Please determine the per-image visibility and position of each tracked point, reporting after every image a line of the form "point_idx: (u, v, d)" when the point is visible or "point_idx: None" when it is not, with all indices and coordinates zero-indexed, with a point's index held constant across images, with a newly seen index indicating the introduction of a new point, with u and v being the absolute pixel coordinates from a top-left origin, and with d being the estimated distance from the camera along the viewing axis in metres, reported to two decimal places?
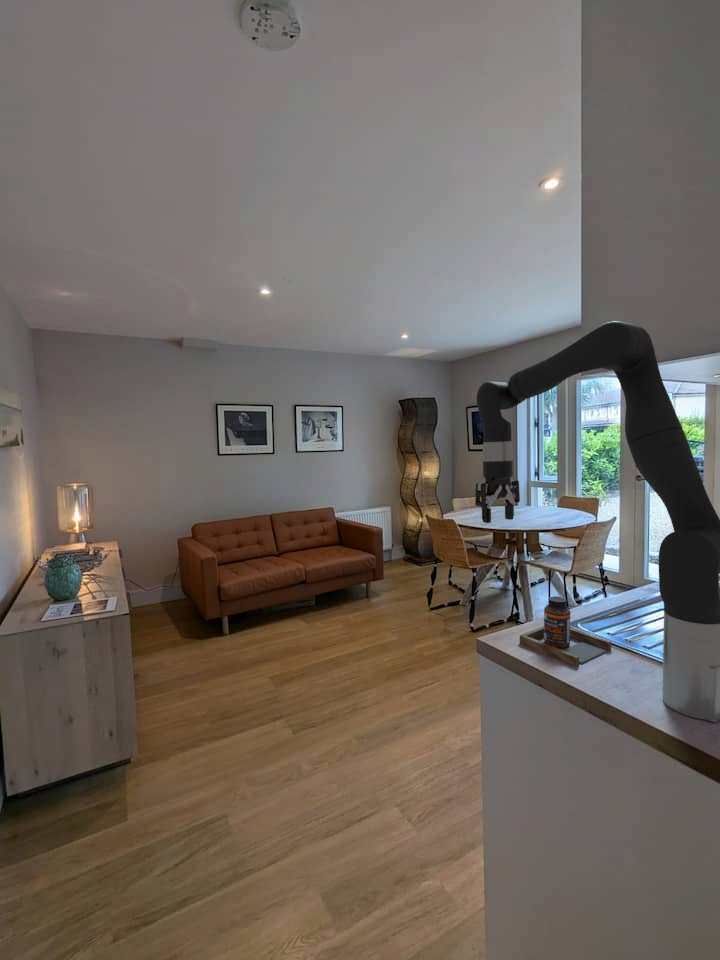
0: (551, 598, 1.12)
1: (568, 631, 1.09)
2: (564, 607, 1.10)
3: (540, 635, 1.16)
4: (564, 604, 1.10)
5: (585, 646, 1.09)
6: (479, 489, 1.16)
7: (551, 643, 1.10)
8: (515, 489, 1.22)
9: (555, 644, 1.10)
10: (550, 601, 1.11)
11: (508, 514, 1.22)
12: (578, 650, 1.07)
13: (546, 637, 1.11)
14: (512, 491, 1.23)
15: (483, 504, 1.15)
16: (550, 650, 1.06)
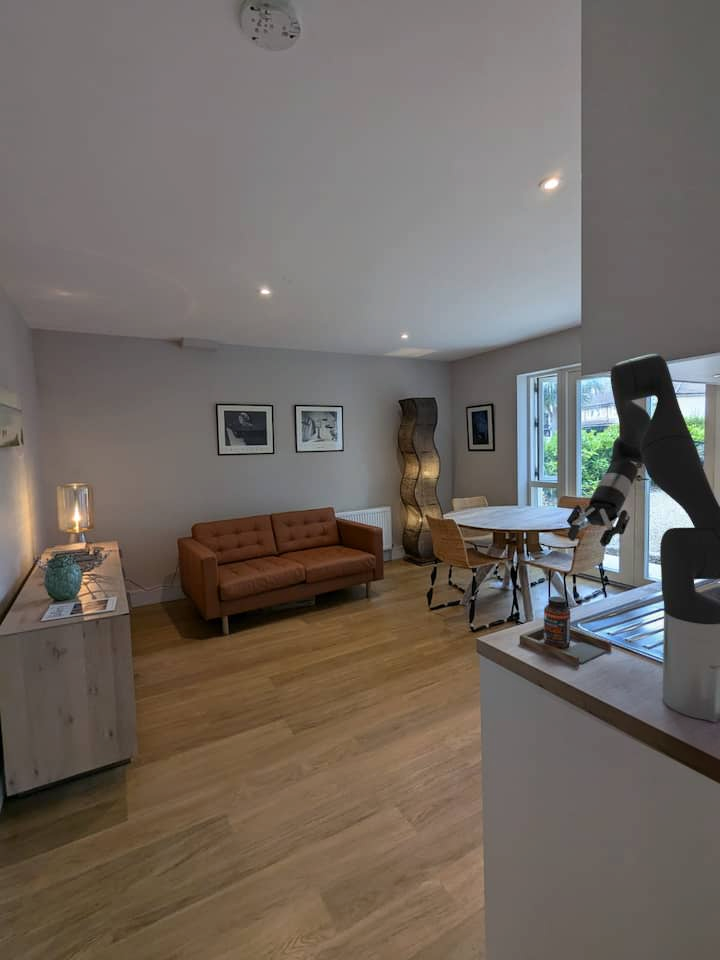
0: (551, 598, 1.12)
1: (568, 631, 1.09)
2: (564, 607, 1.10)
3: (540, 635, 1.16)
4: (564, 604, 1.10)
5: (585, 646, 1.09)
6: None
7: (551, 643, 1.10)
8: None
9: (555, 644, 1.10)
10: (550, 601, 1.11)
11: None
12: (578, 650, 1.07)
13: (546, 637, 1.11)
14: None
15: (568, 520, 1.24)
16: (550, 650, 1.06)
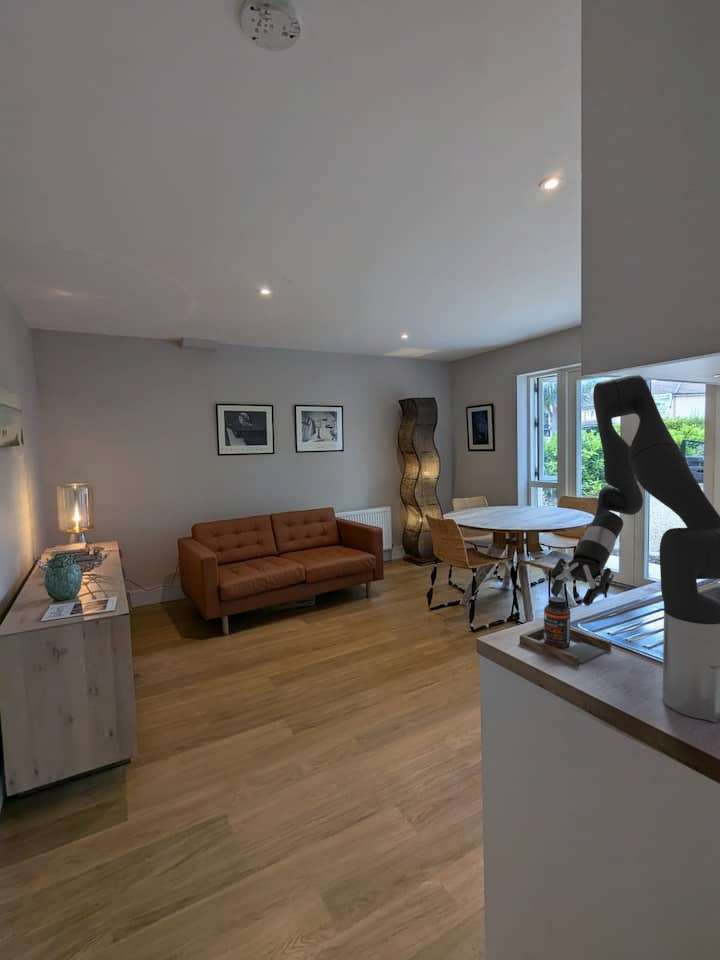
0: (551, 598, 1.12)
1: (568, 631, 1.09)
2: (564, 607, 1.10)
3: (540, 635, 1.16)
4: (564, 604, 1.10)
5: (585, 646, 1.09)
6: None
7: (551, 643, 1.10)
8: None
9: (555, 644, 1.10)
10: (550, 601, 1.11)
11: None
12: (578, 650, 1.07)
13: (546, 637, 1.11)
14: None
15: (551, 574, 1.21)
16: (550, 650, 1.06)
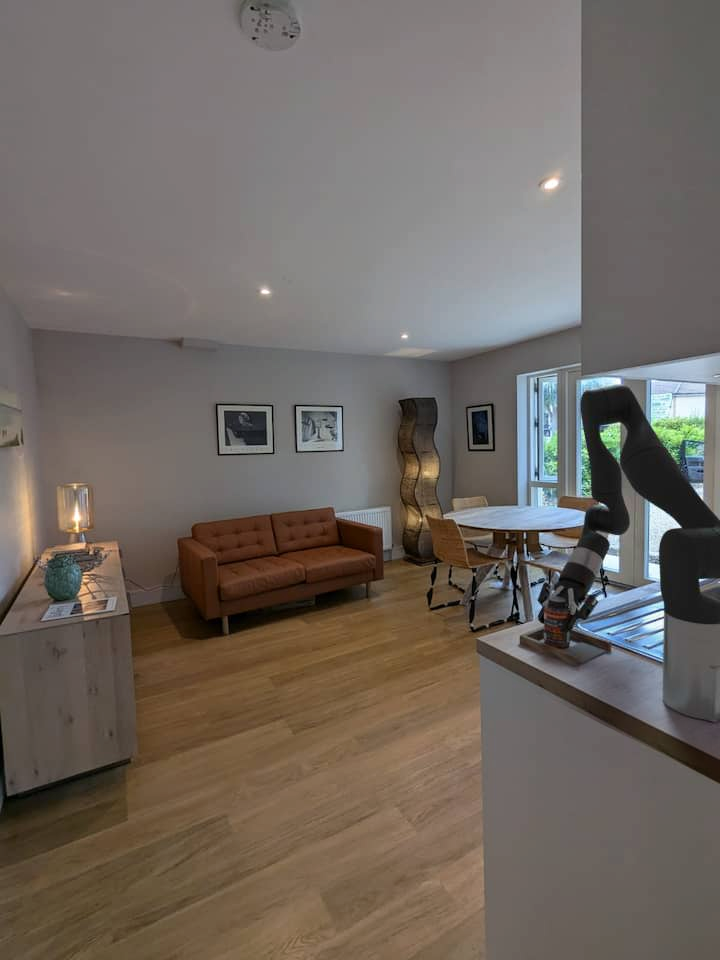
0: (551, 598, 1.12)
1: None
2: (564, 607, 1.10)
3: (540, 635, 1.16)
4: (564, 604, 1.10)
5: (585, 646, 1.09)
6: None
7: (551, 643, 1.10)
8: None
9: (555, 644, 1.10)
10: (550, 601, 1.11)
11: None
12: (578, 650, 1.07)
13: (546, 637, 1.11)
14: None
15: (538, 599, 1.17)
16: (550, 650, 1.06)
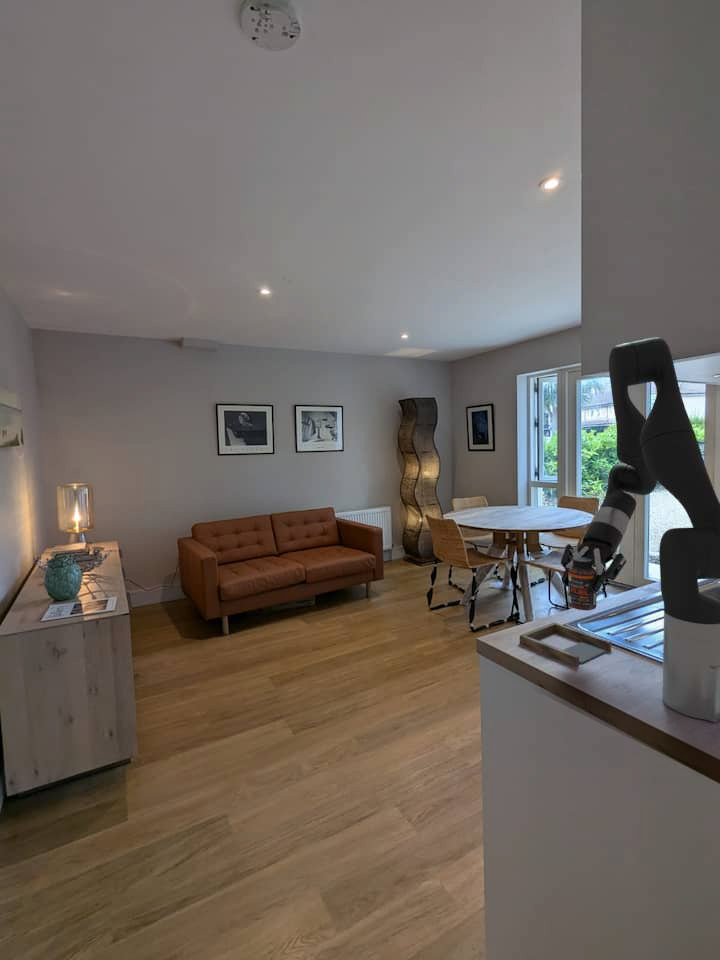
0: (576, 558, 1.05)
1: None
2: (590, 567, 1.04)
3: (540, 635, 1.16)
4: (590, 564, 1.03)
5: (585, 646, 1.09)
6: None
7: (577, 605, 1.04)
8: None
9: (581, 607, 1.03)
10: (575, 561, 1.05)
11: None
12: (578, 650, 1.07)
13: (571, 599, 1.05)
14: None
15: (561, 562, 1.11)
16: (550, 650, 1.06)
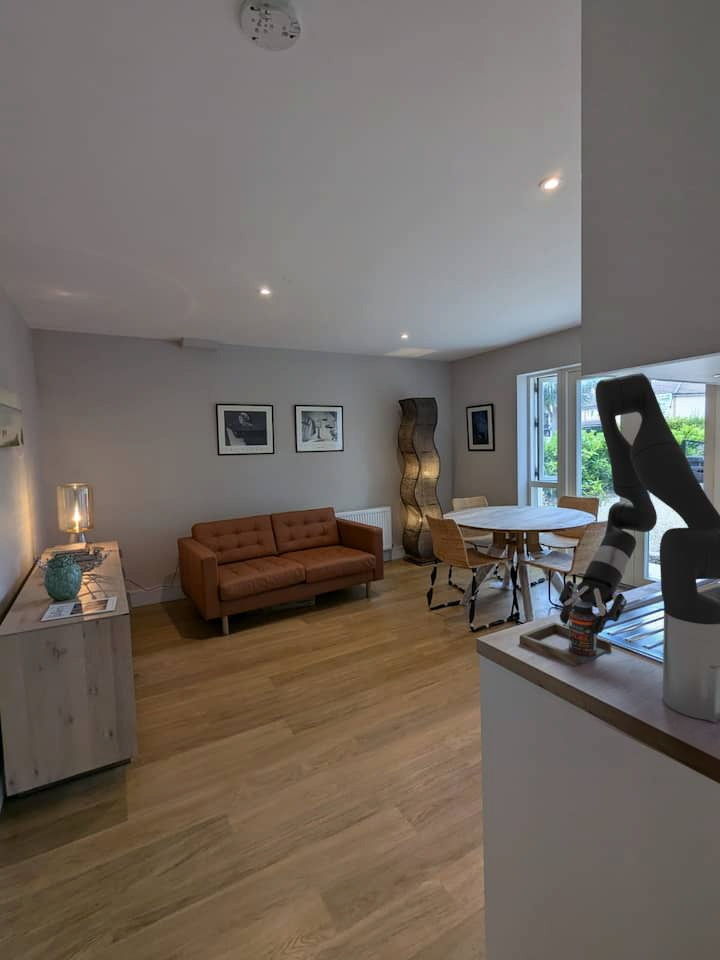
0: (576, 603, 1.06)
1: (595, 638, 1.04)
2: (591, 613, 1.04)
3: (540, 635, 1.16)
4: (591, 610, 1.04)
5: None
6: None
7: (577, 651, 1.05)
8: None
9: (581, 652, 1.04)
10: (576, 607, 1.05)
11: None
12: None
13: (572, 644, 1.06)
14: None
15: (560, 598, 1.12)
16: (550, 650, 1.06)
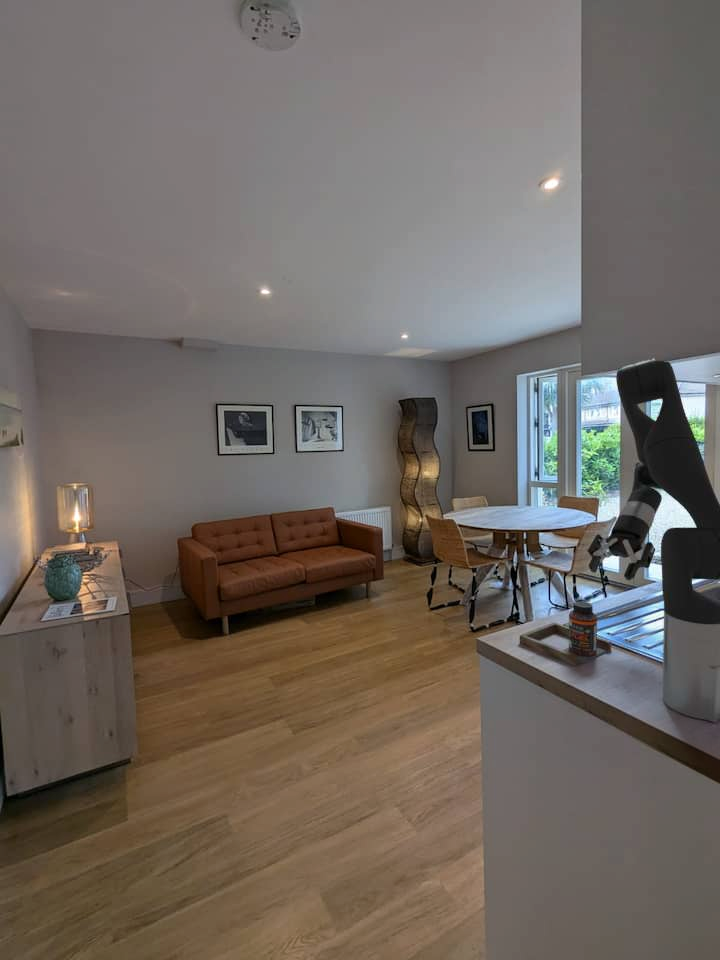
0: (576, 603, 1.06)
1: (595, 638, 1.04)
2: (590, 613, 1.04)
3: (540, 635, 1.16)
4: (590, 610, 1.04)
5: None
6: None
7: (577, 651, 1.05)
8: None
9: (581, 652, 1.04)
10: (575, 606, 1.05)
11: None
12: None
13: (572, 644, 1.06)
14: None
15: (588, 550, 1.18)
16: (550, 650, 1.06)
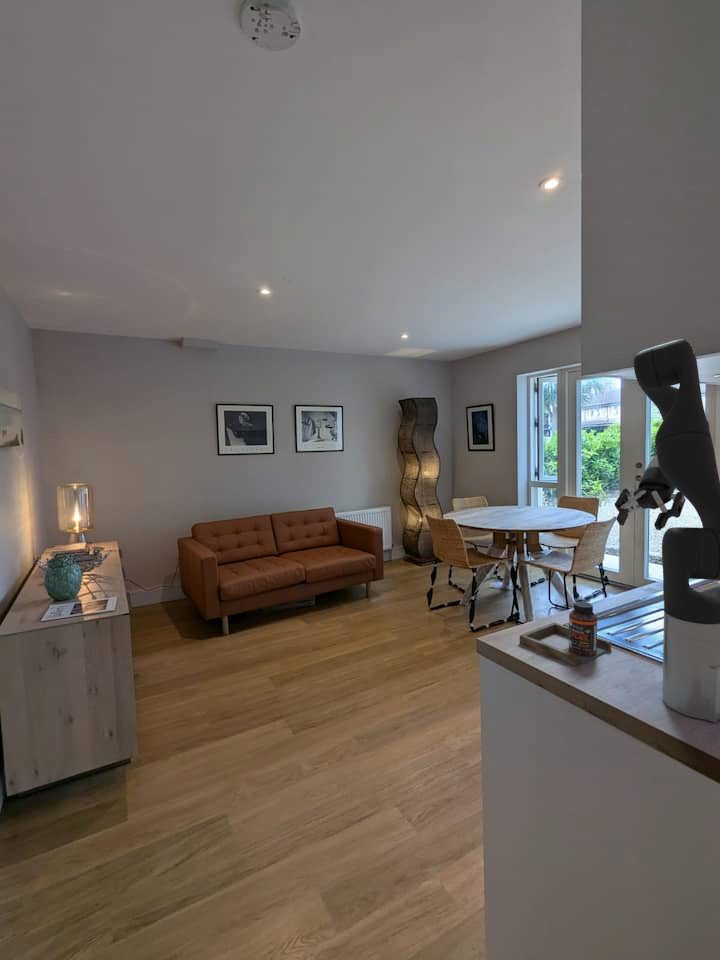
0: (577, 603, 1.06)
1: (595, 638, 1.04)
2: (591, 613, 1.04)
3: (540, 635, 1.16)
4: (591, 610, 1.04)
5: None
6: None
7: (577, 651, 1.05)
8: None
9: (581, 652, 1.04)
10: (576, 606, 1.05)
11: None
12: None
13: (572, 644, 1.06)
14: None
15: (615, 504, 1.17)
16: (550, 650, 1.06)
